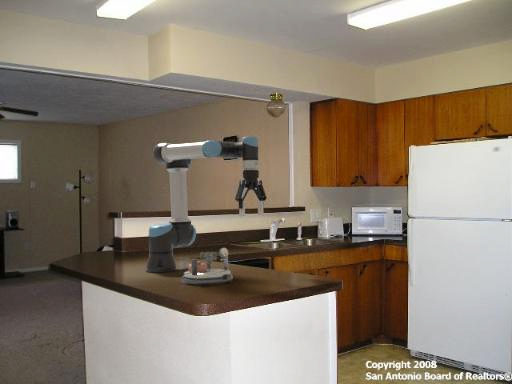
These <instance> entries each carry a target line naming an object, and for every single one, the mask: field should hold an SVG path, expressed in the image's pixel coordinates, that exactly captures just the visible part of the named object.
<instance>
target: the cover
mask: <svg viewBox="0 0 512 384" xmlns="http://www.w3.org/2000/svg"><path fill="white" fill-rule="evenodd" d="M201 261H202V260H201ZM201 261H200V260H199V261H198V260H197V272H198V273H200V272H206V271H207V264H206V262H204V263H202V262H201ZM188 271H189V272H191V273H192V263H190V264H188Z"/></svg>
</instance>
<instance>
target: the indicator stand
mask: <svg viewBox="0 0 512 384" xmlns="http://www.w3.org/2000/svg"><path fill="white" fill-rule="evenodd" d="M218 254H219V257H220V259H219V260H220V261H221V262H222V261H223V269H225V270H229V250H228V248H226V247H222V248H220V249H219V252H218Z"/></svg>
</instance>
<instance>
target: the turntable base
mask: <svg viewBox="0 0 512 384" xmlns="http://www.w3.org/2000/svg"><path fill="white" fill-rule="evenodd" d="M233 280H234V275H233V274H232V273H230V277H228V278H225V277H224V278H218V279H188V278H185V277H184V275H183V276H181V283H182V284H184V285H189V286H217V285H223V284H229V283H231V282H233Z"/></svg>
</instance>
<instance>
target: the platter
mask: <svg viewBox="0 0 512 384" xmlns="http://www.w3.org/2000/svg"><path fill="white" fill-rule="evenodd" d="M197 261H198V258H191V264H192V273H191V272H189V270H187V271H185V272H183V276H184V277H185V278H188V279H218V278H224V277H225V278H228V277H230V274H231V270H229V269H228V270H225V269H224V268H210V269H207V271H206V272H200V273H198V272H197Z"/></svg>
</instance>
